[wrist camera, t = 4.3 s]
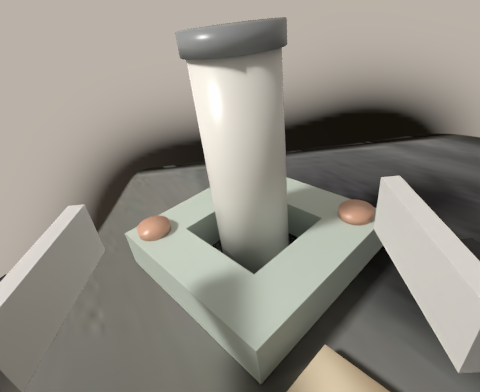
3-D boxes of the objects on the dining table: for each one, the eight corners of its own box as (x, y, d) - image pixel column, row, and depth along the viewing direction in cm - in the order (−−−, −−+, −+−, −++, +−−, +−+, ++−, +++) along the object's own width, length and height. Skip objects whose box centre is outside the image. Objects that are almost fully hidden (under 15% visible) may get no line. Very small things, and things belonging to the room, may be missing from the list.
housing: (253, 190, 32) (250, 159, 31) (383, 244, 23) (390, 205, 21) (136, 261, 25) (122, 227, 23) (260, 384, 16) (254, 343, 14)
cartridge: (255, 222, 28) (233, 21, 19) (308, 249, 24) (309, 14, 15) (205, 257, 24) (153, 34, 16) (257, 295, 21) (225, 29, 12)
